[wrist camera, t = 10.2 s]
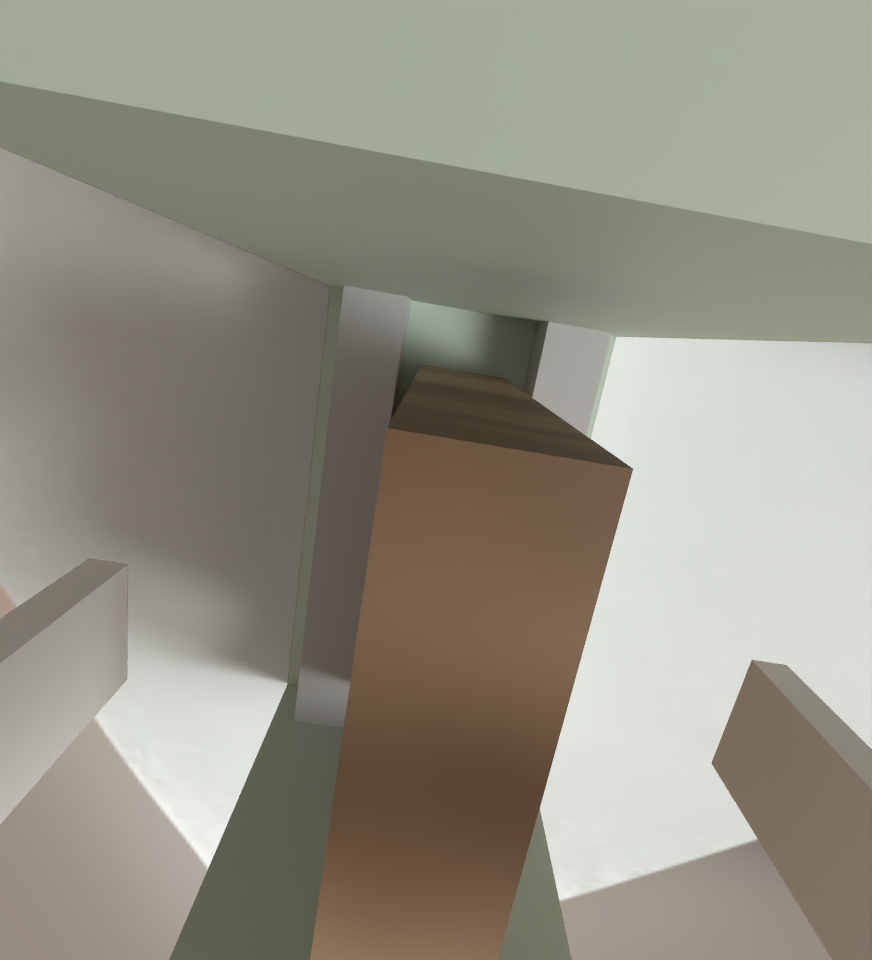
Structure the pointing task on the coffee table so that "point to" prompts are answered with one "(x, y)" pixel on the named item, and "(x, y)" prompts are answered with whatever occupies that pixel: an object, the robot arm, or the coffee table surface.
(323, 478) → the cabinet frame
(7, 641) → the robot arm
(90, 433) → the coffee table surface
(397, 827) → the door panel
